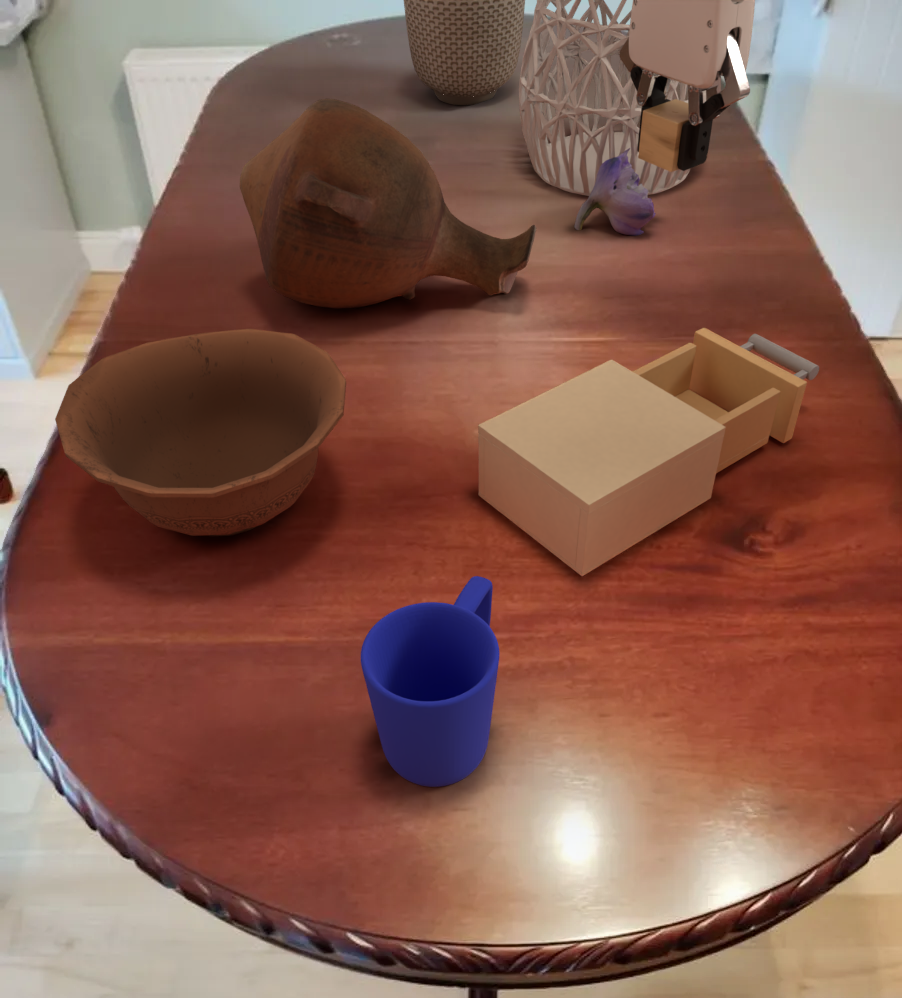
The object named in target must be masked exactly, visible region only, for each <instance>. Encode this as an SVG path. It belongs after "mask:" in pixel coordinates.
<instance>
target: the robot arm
mask: <svg viewBox="0 0 902 998" xmlns="http://www.w3.org/2000/svg"><path fill="white" fill-rule="evenodd" d="M755 6H756V0H632V4H631V10H632V11H631V10H630V11H631V18H630V19H629V25H630V29H629V37H628V39H627V40H626V42H625V43H624V45H623V47H622V48H621V50H620V52H619V55H618V56H619V59H621V60H622V62H623V64H624V68H625V67H626V68H627V70H628V71H629V72H630V76H631V79H632V81H633V86H634V88H636V90H637V95H636V101H637V103H638V104H639V105H640V106H642V108H641V117H640V119H639V127H638V128H639V137H638V147H637V151H638V152H639V146H640V136H641V126H642V116H643V110H646V109H649V108H652V107H654V106H657V105H660V104H663V103H666V102H669V101H671V100H669V99H667V96H668V94H669V86H670V82H671V79H672V80H675V81H678V82H681V83H684V84H687V85H688V89H687V98H688V113H689V122H686V123H683V126H682V131H681V139H680V146H679V154H678V162H677V166H678V169H680V170H682V171H685V170H688V169H690V168H691V169H693V168H695V167H697V166H700V165H702V164H703V165H704V163H705V162H707V159H708V153H709V150H710V149H709V148H710V142H711V134H712V129H713V122H714V120H716V119H718V118H719V117H721V113H723V112H724V111H725V110H727V109H728V108H729V107H731V105H733V104H735V103H737V102H739V101H742V100H743V99H744V98H747V97H748V96H749V95H750V93H751V86H750V83H749V79H748V76H747V72H746V71H747V67H748V62H749V59H750V58H749V57H750V52H751V44H752V37H753V26H754V17H755V9H756V8H755ZM722 77H723V79H724V83H725V85H724V88H723V89H722ZM705 90H706V101H705V102H704V103H703V92H702V91H705ZM691 169H690V170H691Z"/></svg>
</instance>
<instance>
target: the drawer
mask: <svg viewBox="0 0 902 998" xmlns="http://www.w3.org/2000/svg"><path fill="white" fill-rule="evenodd" d="M693 335H694V336H693V342H688V343H685V344H684V345H682V346H680V347H677V348H675V349H674V350H672V351H669V352H667V353H666V354H663V355H662V356H659V357H658V358H656V359H654V360H652V361H650V362H649V363H646V364H644V365H643V366H640V367H638V368H636V369H634V370H631V371H632V372H634V373H636V374H637V375H639V376H641V377H642V378H644V379H646V380H647V381H649V382H651V383H652V384H654V385H656V386H657V387H659V388H661V389H663V390H664V391H666V392H668V393H669V394H671V395H673V396H674V397H676V398H678V399H679V400H681V401H683V402H684V403H686V404H688V405H690V406H691V407H693V408H695V409H696V410H698V411H700V412H701V413H703V414H705V415H706V416H708V417H710V418H711V419H713V420H715V421H716V422H718V423H720V424H722V425H723V426H725V427H726V429H725V433H724V438H723V443H722V447H721V452H720V457H719V462H718V466H717V471H716V474H718V473H720V472H721V471H723V470H724V469H726V468H728V467H729V466H731V465H734V463H737V462H738V461H739V460H741V459H743V458H745V457H746V456H748V455H750V454H752V453H753V452H754V451H756V450H758V449H760V448H761V447H763V446H765V445H767V444H768V443H769V438H770V437H772V438H773V439H775V440H777V441H778V442H780V443H782V444H785V443H787V442H788V441H790V440H791V439H793V436H794V432H795V429H796V425H797V422H798V417H799V414H800V411H801V407H802V402H803V399H804V395H805V393H806V392H805V391H806V388H807V384H808V382H807V381H813V380H814V379H815V378H816V377H817V375H818V374H819V371H820V365H818V364H816V363H814V362H812V361H810V360H808V359H807V358H805V357H802V356H800V355H798V354H797V353H795V352H793V351H790V350H789V349H786V348H785V347H783V346H782V345H778V344H777V343H775V342H773V341H771V340H769V339H767V338H765V337H763V336H761V335H759V334H757V333H753V334H751V336H749V338H748V339H747V342H745V343H743V344H742V345H738V344H736V343H734V342H732V341H730V340H728V339H727V338H724V337H723V336H721V335H719V334H717V333H716V332H713V331H712V330H710V329H708V328H706V327H702V328H700V329H698V330H695V332H694V334H693ZM751 351H753V352H755V353H757V354H759V355H757V354H755V353H753V352H751ZM761 356H762V357H761ZM763 357H765V358H766V359H769V360H770V361H772V362H774V363H776V364H778V365H779V366H781V367H784V368H785V369H786V370H785V369H783V368H781V367H779V366H777V365H776V364H774V363H772V362H770V361H768V360H766V359H764V358H763ZM787 370H789V371H791V372H793V373H794V374H793V373H791V372H789V371H787ZM805 379H806V380H807V381H806V380H805Z"/></svg>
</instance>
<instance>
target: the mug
mask: <svg viewBox="0 0 902 998" xmlns="http://www.w3.org/2000/svg"><path fill="white" fill-rule="evenodd" d="M493 591H494V589H493V583H492V581H491V579H488V578H486V577H484V576H483V577H482V576H478V575H474V576H472V577H471V578H470V579H469V580H468V581H467V582H466V584H465V585H464V586H463V588H462V590H461V591H460V593H459V594H458V596H457V598H456V599H455V601H454V604H452V603H446V602H436V601H428V602H418V603H412V604H408V605H405V606H403V607H400V608H397V609H395V610H393V611H391V612H388V614H386V615H385V616H383V617H381V618H380V620H378V621H377V622H376V623H375V624H374V625H373V626H372V627H371V628H370V629H369V631H368V632H367V634H366V636H365V638H364V640H363V642H362V645H361V650H360V665H361V670H362V674H363V677H364V682H365V685H366V689H367V690H366V691H367V694H368V697H369V701H370V706H371V710H372V713H373V717H374V721H375V725H376V728H377V733H378V737H379V741H380V745H381V748H382V751H383V754H384V756H385V759H386V760H387V762H388V763H389V765H390V767H391V768H392V769H393V770H394V771H395V772H396V773H397V774H398V775H399V776H400V777H402V778H403V779H405V780H407V781H408V782H411V783H413V784H415V785H419V786H422V787H430V788H431V787H432V788H438V787H446V786H450V785H453V784H455V783H458V782H461V781H462V780H464V779H466V778H467V777H469V776H470V775H471V774H472V773H473V772H474V771H476V769H477V768H478V767H479V765H480V764H481V763H482V761H483V759H484V757H485V754H486V752H487V750H488V745H489V739H490V731H491V725H492V717H493V709H494V703H495V702H494V701H495V695H496V687H497V678H498V673H499V672H498V671H499V664H500V645H499V642H498V639H497V637H496V634H495V633H494V631H493V629H492V628H491V618H492V605H493V604H492V603H493Z"/></svg>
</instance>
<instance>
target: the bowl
mask: <svg viewBox="0 0 902 998" xmlns="http://www.w3.org/2000/svg"><path fill="white" fill-rule="evenodd" d="M346 390H347V378H346V377H345V376H344V374H343V373H342V371H341V369H340V367H338V365H337V364H336V363H335V360H334V359H333V358H332V356H331V355H330V353H329V352H328V351H326V350H325V349H323V348H321V347H319V346H317V345H315V344H314V343H312V342H310V341H308V340H306V339H304V338H302V337H301V336H299V335H297V334H295V333H290V332H282V331H280V332H279V331H273V330H263V329H255V328H242V329H233V330H231V329H230V330H222V331H211V332H201V333H194V334H189V335H183V336H177V337H172V338H171V337H170V338H165V339H159V340H154V341H148V342H145V343H143V344H139V345H137V346H134V347H131V348H127V349H125V350H123V351H120V352H117V353H114V354H110V355H108V356H106V357H103V358H101V359H99V360H98V361H97V362H96V363H94V364H93V365H92V366H90V367H89V368H88V369H86V371H85V372H83V373H82V374H81V375H79V376H78V377H77V378H76V379H74V380H73V381H72V382H70V383H69V384H68V386H67V388H66V391H65V393H64V396H63V398H62V400H61V403H60V406H59V408H58V410H57V413H56V416H55V418H54V421H55V424H56V427H57V431H58V434H59V435H58V436H59V437H60V441H61V445H62V448H63V451H64V455H65V458H67V459H69V460H70V461H71V462H73V463H74V464H75V465H76V466H78V467H79V468H80V469H81V470H82V471H84V472H85V473H87V474H88V475H89V476H90V477H92V478H93V479H94V480H96V481H97V482H99V483H101V484H105V485H109V486H111V487H113V488H114V490H115V491H116V492H117V494H118V495H119V496H120V497H121V499H122V500H123V501H124V502H125V503H126V504H127V505H128V506H129V507H130V508H132V509H133V510H134V511H135V512H137V513H138V514H139V515H140V516H142V517H143V518H144V519H146V521H148V522H150V523H151V524H152V525H154V526H155V527H158V528H162V529H165V530H169V531H173V532H177V533H181V534H183V535H184V534H185V535H187V536H188V535H189V536H192V537H193V536H195V537H196V536H197V537H198V536H209V537H219V536H220V537H223V536H234V535H238V534H240V533H244V532H247V531H251V530H253V529H255V528H257V527H258V526H261V525H264V524H266V523H267V522H269V521H271V520H273V519H274V518H275V517H277V516H278V515H280V514H281V513H283V512H284V511H286V510H288V509H289V508H291V507H292V506H294V504H295V503H296V502H297V500H298V499H299V498H300V496H301V495H302V493H304V491H305V489H306V488H307V487H308V485H309V484H310V482H312V480H313V478H314V476H315V473H316V470H317V464H318V458H319V449H320V446H322V444H323V443H324V441H325V440H326V439H327V438H328V436H329V435H330V434H331V432H332V431H333V430H334V428H335V427H336V426H337V425H338V423H339V422H340V420H341V419H342V418H343V417H344V414H345V403H346V392H347V391H346Z"/></svg>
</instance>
